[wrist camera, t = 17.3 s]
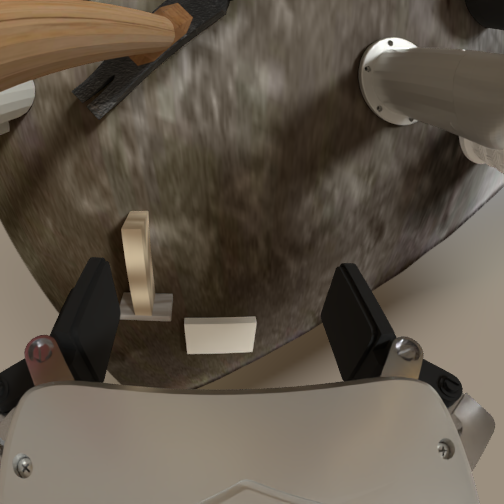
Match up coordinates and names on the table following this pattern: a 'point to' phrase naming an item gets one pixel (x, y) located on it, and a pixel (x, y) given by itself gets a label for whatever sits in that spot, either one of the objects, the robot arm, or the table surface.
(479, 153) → the decorative container
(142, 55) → the hammer
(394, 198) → the table surface
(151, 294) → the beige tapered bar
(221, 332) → the tile
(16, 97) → the paper towel roll
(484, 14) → the pen holder
